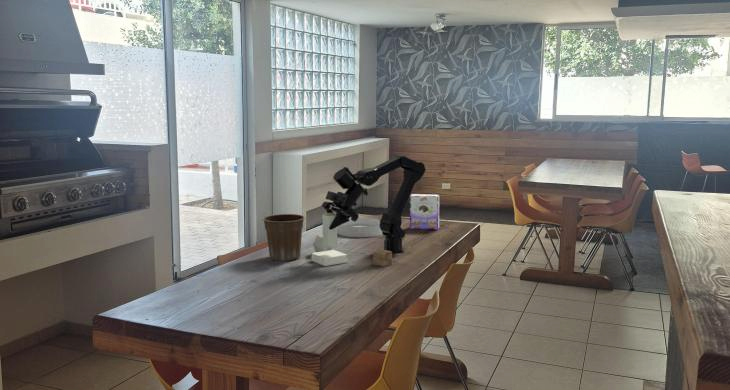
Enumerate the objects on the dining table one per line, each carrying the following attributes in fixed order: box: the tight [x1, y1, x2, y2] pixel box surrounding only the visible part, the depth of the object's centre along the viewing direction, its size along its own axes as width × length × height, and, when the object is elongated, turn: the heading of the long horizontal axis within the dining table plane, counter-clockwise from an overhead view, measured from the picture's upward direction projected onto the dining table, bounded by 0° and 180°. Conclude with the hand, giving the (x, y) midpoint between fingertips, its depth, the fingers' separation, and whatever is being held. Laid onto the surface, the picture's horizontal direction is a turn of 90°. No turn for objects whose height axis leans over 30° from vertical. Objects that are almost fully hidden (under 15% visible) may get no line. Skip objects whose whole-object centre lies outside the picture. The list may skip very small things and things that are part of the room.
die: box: [312, 234, 335, 253], centre depth 262 cm, size 8×9×10 cm
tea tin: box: [321, 212, 338, 246], centre depth 248 cm, size 4×4×12 cm
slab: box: [311, 249, 348, 267], centre depth 250 cm, size 10×10×3 cm
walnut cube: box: [372, 249, 393, 267], centre depth 246 cm, size 5×5×5 cm
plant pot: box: [262, 213, 305, 262], centre depth 256 cm, size 16×16×16 cm
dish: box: [337, 217, 383, 238], centre depth 305 cm, size 22×22×5 cm
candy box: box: [409, 193, 440, 231], centre depth 313 cm, size 14×6×16 cm, turn 77°
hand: (326, 228), depth 247 cm, fingers closed on tea tin, 4 cm apart
